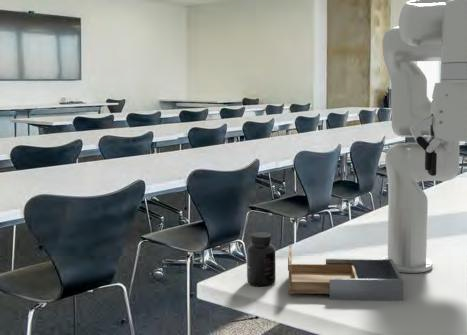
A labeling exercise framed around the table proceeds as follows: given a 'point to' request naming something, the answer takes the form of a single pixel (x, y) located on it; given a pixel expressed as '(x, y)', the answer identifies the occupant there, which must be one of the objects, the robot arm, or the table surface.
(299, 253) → the table surface
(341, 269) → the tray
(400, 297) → the housing
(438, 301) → the table surface
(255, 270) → the supplement bottle
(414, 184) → the robot arm
